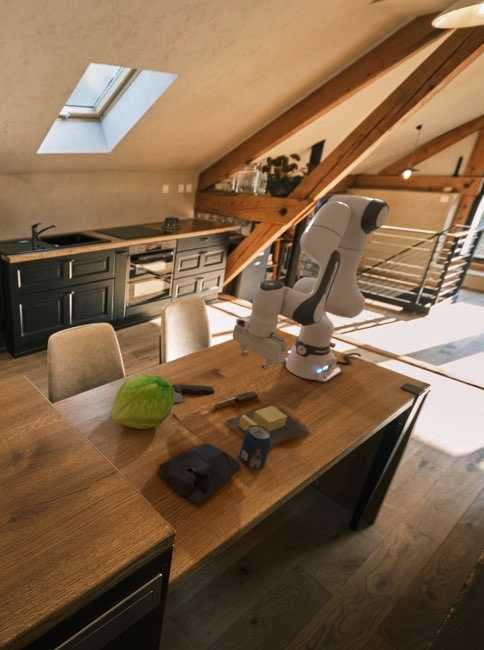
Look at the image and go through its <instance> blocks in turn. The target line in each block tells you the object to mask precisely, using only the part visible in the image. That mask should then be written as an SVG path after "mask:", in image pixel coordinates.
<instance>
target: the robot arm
mask: <svg viewBox="0 0 484 650" xmlns="http://www.w3.org/2000/svg"><path fill="white" fill-rule="evenodd" d="M389 212H390V206H389V204H388V202H387V201H386V200H383V199H380V198H376V197H375V198H372V197H367V196H363V195H357V194H355V195H354V194H353V195H352V194H336V193H329V194H325V195H324V196H322V197H320V198H319V199H318V200H317V202H316V203H315V205H314V210H313V216H312V218H311V219H310V221H309V222H308V224H307V225H306V227H305V229H304V230H303V232H302V234H301V235H300V239H299V247H300V249H301V251H302V252H303V254H304V255H305V256H306V257H307V258H309V259H310V260H311V261H312V262H314V263H315V264H317V266H318V267H319V271H318V274H317V277H309V276H304V277H302V278H300V279H298V280H297V281H296V282H295V284H294V286H293V288H291V287H288V286H285V285H284V284H283V283H282V282H281V281H279V280H274V279H267V280H262V281H260V283H258V285H257V287H256V290H255V292H254V296H253V299H252V303H251V313H250V314H249V315H247V316H241V317H239V318H237V319H236V320H235V325H234V327H233V330H232V339H233V340H234V342H236V343H238V344H239V348H240V356H241V357H244V358H246V357H248V355H249V352H248V351H247V349H248V350H250V351H252V352H254V353H255V354H256V355H259V356H260V357H262V358H264V359H265V362H264V363H262V364H261V369H263V370H264V371H267V370H269V369H270V365H272V364H273V365H279V364H282V363H284V362H285V368H286V370H287V371H288V372H290V373H292V374H294V375H295V376H297V377H300V378H302V379H307V380H312V381H317V382H321V383H327V382H328V381H330V380H332V379H334V378H335V377H336V376H337V375H339V374H341V373H342V369H341V368H340V367H339V366H337V364H341V365H350V364H351V360H350V359H348V357H349V356H358V357H359V358H360V357H362V355H361V354H360V353H358V352H351V353H350V352H349V353H347V354H345V355H344V357H343V358H344V359H345V360H346V361H347V362H344V361H338V358H337V354H336V353H334V352H332V351H331V349H334V348H335V347H336V346H337V345H336V344H337V343H334V342H332V337H333V334H334V331H335V325H334V323H333V322H332V321H331V319H330V318H329V317H328V315H327V313H328V314H331V315H334V316H336V317H340V318H347V319H354V318H356V317H357V316H359V315H360V314H361V313H362V312H363V311H364V309H365V308H366V298H365V296H364V295H363V293H362V292H361V290H360V288H359V286H358V283H357V272H358V268H359V266H360V262H361V259H362V257H363V255H364V252H365V250H366V247H367V244H368V241H369V238H370V237H369V236H370V234H371V233H372V232H375V231H377V230H379V229H381V227H383V225H384V224H385V223H386V221H387V219H388V217H389ZM279 316H282V317H284V318H287V319H289V320H292V321H293V322H295V323H297V324H300V325H301V326H300V330H299V334H298V336H297V337H296V339H295V342H294V345H292V346H291V349H290V350H288V351H287V347H288V343H287V341H286V340H285V338H284V337H283V336H279V335H278V334H276V333H277V329H278V325H279ZM287 353H288V356H287ZM347 355H348V356H347ZM286 356H287V357H286Z"/></svg>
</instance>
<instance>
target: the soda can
mask: <svg viewBox="0 0 484 650" xmlns="http://www.w3.org/2000/svg"><path fill="white" fill-rule="evenodd" d="M270 444H271V437H270V432H269V431H268V430H267V429H266V428H264V427H262V426H259V425H251V426H250V427H249V428H248V429H247V430H246V431H245V435H243V438H242V443H241V447H240V451H239V455H238V458H239V461H240V462H241V463H242V465H244V466H245V467H247V468H249V469H252V470H262V469H263V468H264V467H265V465H266V460H267V457H268V454H269V450H270V447H271V445H272V444H271V445H270Z"/></svg>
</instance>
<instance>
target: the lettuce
mask: <svg viewBox="0 0 484 650" xmlns="http://www.w3.org/2000/svg"><path fill="white" fill-rule="evenodd" d="M172 385H173V384H171V382H169V381H168V380H167V379H165V378H163V377H161V376H160V375H157V374H145V375H138V376H134V377H132V378H131V377H130V378H129V379H127V380H126V381H124V382H123V383H122V385H121V386H120V387H119V389H118V391H117V392H116V394H115V397H114V399H113V403H112V407H111V409H110V412H109V414H108V417H109V421H110V422H111V423H113V424H116V425H123V426H126V427H129V428H133V429H137V430H147V429H152V428H155V427H158V426H160V425H161V424H162V423H163V422H165V420H166V419H167V418H168V416H169V414H170V412H171V410H172V408H173V406H174V405H175V403H174V394H175V392H174V389H173V387H172Z"/></svg>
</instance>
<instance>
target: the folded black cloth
mask: <svg viewBox="0 0 484 650" xmlns="http://www.w3.org/2000/svg"><path fill="white" fill-rule="evenodd" d="M240 467H241V463H240V462H238V461H237V460H236V459H235V458H233V457H232V456H231V455H230V454H228V453H227V452H226V451H225V450H224V449H223V450H222V449H221V448H218V447H216V446H214V445H213V444H211V443H207V444H206V443H203V444H201V445H199V446H196V448H195V447H194V448H193V449H190V450H188V451H186V452H184V453H182V454H179V455H177V456H175V457H174V458H171V459H169V460H168V461H166V462H164V463H161V464H160V465H159V468H160V471H159V475H160V476H161V478H162V479H163V480H164V481H166V482H167V483H169V485H170V486H171V488H172V489H173V490H174V491H175V492H177V493H178V494H179V495H180V496H181V497H185V498H187V499H188V500H189V501H191V502H192V503H193V504H195V505H201V504H202V503H203V502H205V501H207V499H209V497H211V496H212V495H213V494H215V493H216V491H218V489H220V487H222V486H223V485H224V484H225V483H226V482H227V481H228V480H229V479H230V478H231V476H232V475H234V473H236V472H237V471H238V470H239V469H240ZM194 485H195V486H196V487H197V488H199V489H201V490H202V491H204V492H205V493H200V492H199V491H198V490H197V489H196V488H195V487H194Z"/></svg>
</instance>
